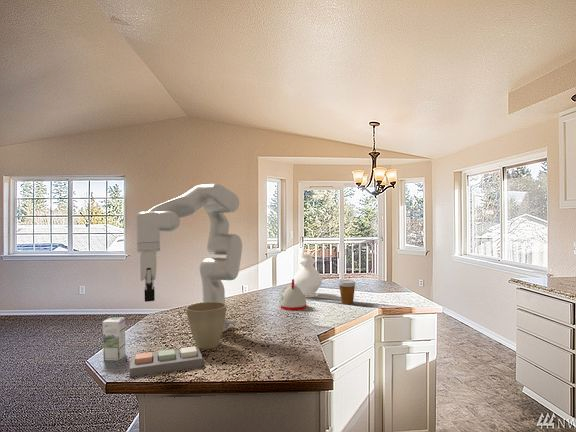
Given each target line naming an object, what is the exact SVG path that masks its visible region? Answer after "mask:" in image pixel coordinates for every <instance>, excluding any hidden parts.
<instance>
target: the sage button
mask: <svg viewBox="0 0 576 432" xmlns="http://www.w3.org/2000/svg"><path fill="white" fill-rule="evenodd" d="M174 350H175V348H173V349H171V348H170V349H163V350H158V352H159V361H163V360H170V359H175V352H174Z"/></svg>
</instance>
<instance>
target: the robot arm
mask: <svg viewBox="0 0 576 432" xmlns="http://www.w3.org/2000/svg"><path fill="white" fill-rule="evenodd" d="M201 208H204V209H203V210H205V212H206V214H207V216H208V218H209V222H210V224H209V233H208V237H207V245H206V250H207V252H208V253H209V254H210V255H214V256H225V257H207V258H205V259H203V260H201V262H200V264H199V274H200V278H201V279H200V280H201V287H202V288H201V289H202V302H222V303H225V304H226V299H225V297H226V294H225V293H226V290H225V285H224V283H223V281H233V280H235V279H237V277H238V275H239V272H240V268H241V267H240V266H241V260H242V252H243V241H242V239H241V236H239V235H238V234H236V233H229V231H230V221H229V219H228V218H227V216H226V215H225V213H226V214H227V213H235V212H237V210H239V208H240V199H239V197H238V196H237V194H236V193H235V192H233V191H232V190H230V189H229V188H228V187H226V186H224V185H222V184H219V183H207V184H206V183H203V184H198V185H195V186H193V188H190V189H189V190H188V191H187V192H184V193H183V194H181V195H180V196H178V197H175V198H172V199H170V200H167V201H165V202H162V203H160V204H157V205H155V206H153V207H152V208H150V209H149V210H148V211H141V212H138V213H137V214H136V217H135V218H136V252H137V253H140V255H139V264H140V265H139V266H140V267H139V270H140V271H139V273H140V275H139V276H140V277H139V278H140V281H141V282H143V281H144V302H145V303H146V302H155V301H156V300H155V299H156V297H155V295H156V294H155V285H154V282H155V280H156V277H157V267H158V266H157V265H158V264H157V263H158V262H157V261H158V260H157V252H161V239H160V238H161V236H160V235H161V234H160V233H163V232H164V233H169V232H174V231H176V230H177V229H178V228H179V227H180V225H181V218H185V217H188V216H192V215H194V214H195V213H196V212H197V211H198V210H200V209H201ZM236 324H237V320H236V319H232V318H229V319H227V318H226V317H225V321H224V327H223V331H222V333H225V332H227V331H228V330H229V329H230V325H236Z"/></svg>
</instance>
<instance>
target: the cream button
mask: <svg viewBox="0 0 576 432" xmlns="http://www.w3.org/2000/svg"><path fill="white" fill-rule="evenodd" d="M196 347H197V346H187V347H180V348H179V349H180V356H181V358H185V357H192V356H197V350H196Z"/></svg>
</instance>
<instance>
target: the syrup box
mask: <svg viewBox="0 0 576 432" xmlns="http://www.w3.org/2000/svg"><path fill="white" fill-rule="evenodd" d="M102 348H103V349H102V350H103V351H102V352H103V361H104V360H113V361H121V360H122V359H123V358H124V357H125V356H126V355H127V350H126V317H108V318H106V319H104V320H103V321H102ZM120 359H121V360H120Z"/></svg>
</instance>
